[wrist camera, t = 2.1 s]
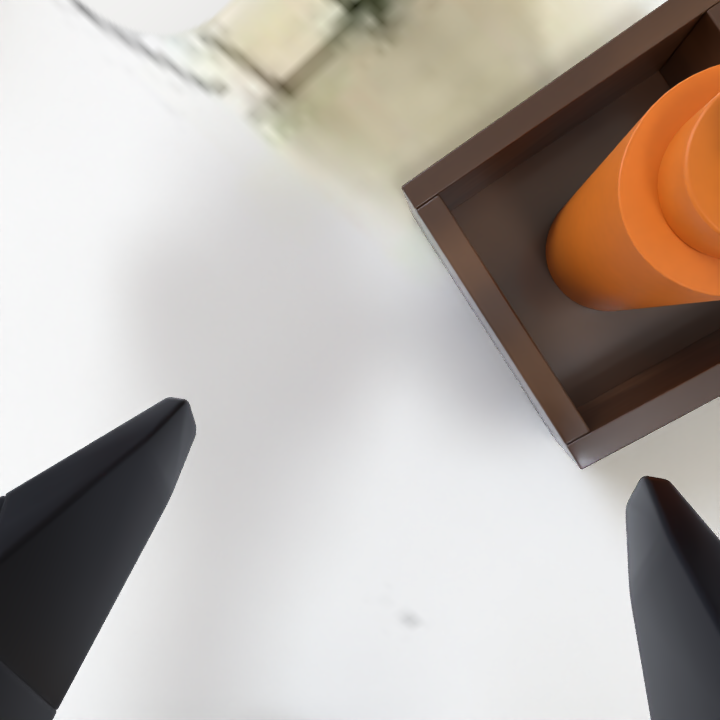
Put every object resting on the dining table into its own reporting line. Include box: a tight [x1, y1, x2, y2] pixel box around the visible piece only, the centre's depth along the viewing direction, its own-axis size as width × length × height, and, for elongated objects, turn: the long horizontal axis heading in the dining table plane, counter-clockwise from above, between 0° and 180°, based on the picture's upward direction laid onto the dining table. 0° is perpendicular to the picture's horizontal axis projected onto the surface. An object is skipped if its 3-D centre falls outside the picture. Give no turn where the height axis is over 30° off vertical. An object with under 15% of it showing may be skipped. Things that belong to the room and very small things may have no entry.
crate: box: [402, 0, 720, 469], centre depth 20 cm, size 12×12×5 cm
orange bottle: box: [546, 65, 720, 311], centre depth 14 cm, size 5×5×14 cm
